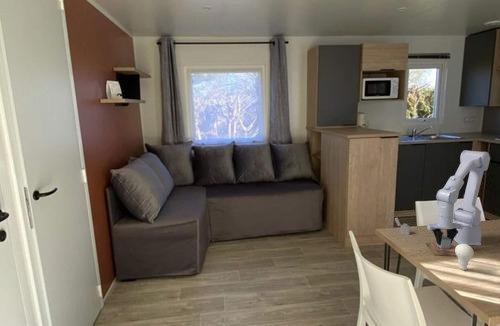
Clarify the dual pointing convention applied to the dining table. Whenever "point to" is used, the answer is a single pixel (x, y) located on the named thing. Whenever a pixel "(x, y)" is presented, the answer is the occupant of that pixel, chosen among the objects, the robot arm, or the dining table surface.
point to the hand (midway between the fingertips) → (443, 244)
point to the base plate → (441, 250)
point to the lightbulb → (463, 255)
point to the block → (445, 243)
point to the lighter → (403, 227)
